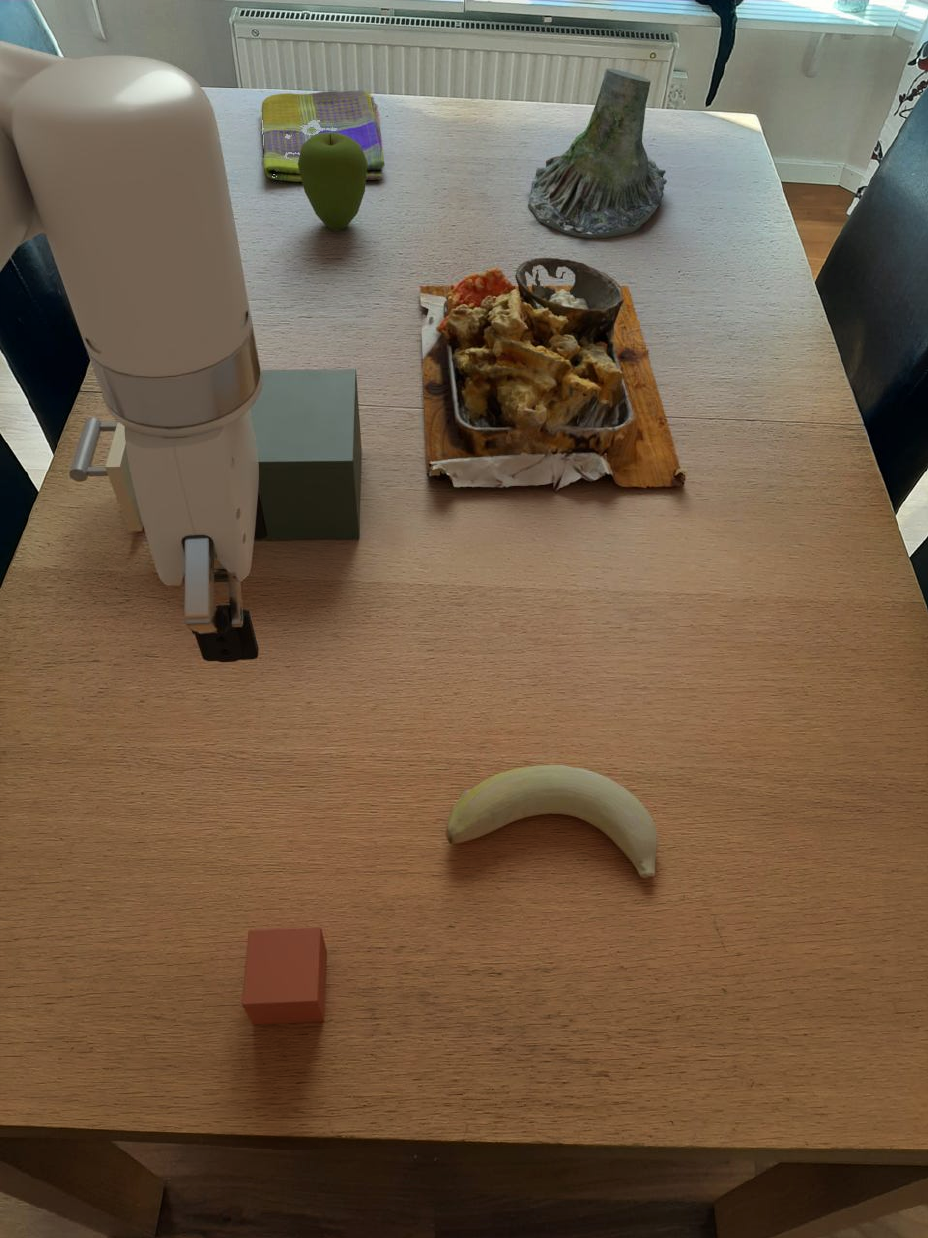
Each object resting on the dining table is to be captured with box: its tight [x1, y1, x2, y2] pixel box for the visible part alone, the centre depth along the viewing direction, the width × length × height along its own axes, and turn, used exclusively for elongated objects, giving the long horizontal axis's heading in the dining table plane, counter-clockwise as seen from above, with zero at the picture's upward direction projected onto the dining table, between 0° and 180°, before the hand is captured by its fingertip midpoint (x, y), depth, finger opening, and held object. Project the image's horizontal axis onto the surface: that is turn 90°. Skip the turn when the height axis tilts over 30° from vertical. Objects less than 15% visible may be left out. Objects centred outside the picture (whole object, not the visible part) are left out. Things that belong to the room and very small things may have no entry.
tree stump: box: [527, 68, 668, 239], centre depth 120 cm, size 18×20×18 cm
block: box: [241, 926, 328, 1025], centre depth 57 cm, size 4×4×4 cm
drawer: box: [68, 417, 144, 532], centre depth 82 cm, size 17×11×8 cm
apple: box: [298, 132, 368, 232], centre depth 113 cm, size 9×8×12 cm
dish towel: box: [260, 89, 385, 183], centre depth 131 cm, size 18×24×3 cm
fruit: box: [445, 764, 658, 879], centre depth 65 cm, size 7×15×3 cm, turn 82°
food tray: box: [419, 257, 688, 493], centre depth 95 cm, size 35×26×11 cm
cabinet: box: [250, 368, 363, 542], centre depth 83 cm, size 14×13×10 cm
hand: (238, 593), depth 56 cm, fingers open, 9 cm apart
